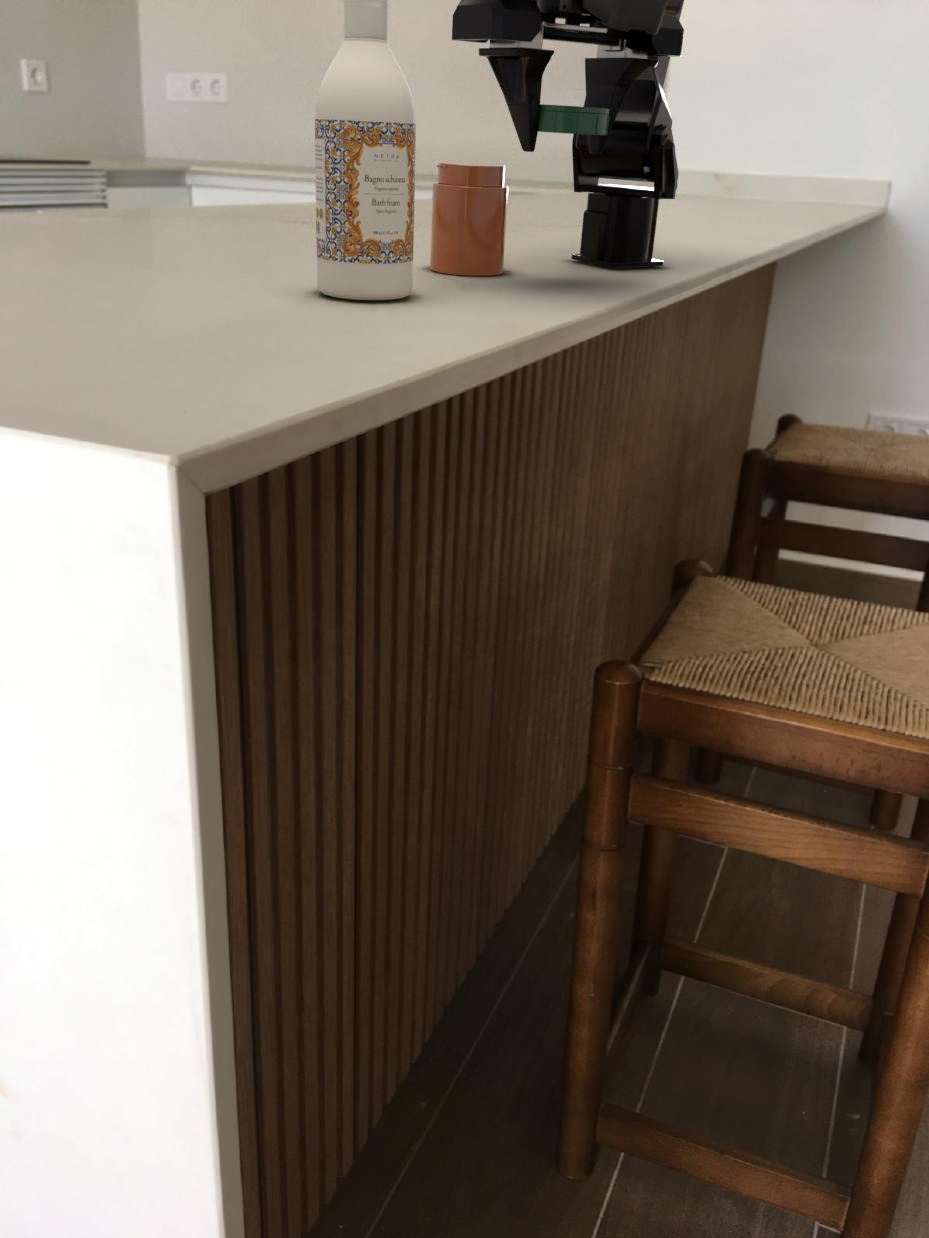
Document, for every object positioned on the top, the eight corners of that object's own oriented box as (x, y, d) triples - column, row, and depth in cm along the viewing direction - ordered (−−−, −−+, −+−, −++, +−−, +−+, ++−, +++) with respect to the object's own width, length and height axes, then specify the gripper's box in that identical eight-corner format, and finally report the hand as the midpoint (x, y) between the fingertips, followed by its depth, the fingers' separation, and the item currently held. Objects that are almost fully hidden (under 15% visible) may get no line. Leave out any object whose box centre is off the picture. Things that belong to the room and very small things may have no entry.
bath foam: (339, 303, 74) (337, -31, 66) (303, 289, 80) (297, -21, 72) (428, 300, 78) (437, -19, 69) (387, 286, 83) (391, -11, 75)
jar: (475, 264, 98) (480, 162, 94) (517, 274, 93) (525, 167, 89) (415, 267, 94) (419, 160, 90) (457, 277, 89) (462, 166, 86)
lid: (506, 129, 86) (508, 103, 85) (577, 133, 89) (579, 107, 88) (549, 132, 81) (551, 104, 80) (623, 136, 84) (626, 109, 83)
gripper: (550, -110, 68) (531, 157, 75) (750, -72, 78) (718, 161, 85) (452, -92, 76) (443, 147, 83) (645, -59, 86) (623, 152, 93)
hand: (562, 152), depth 86 cm, fingers closed on lid, 6 cm apart
